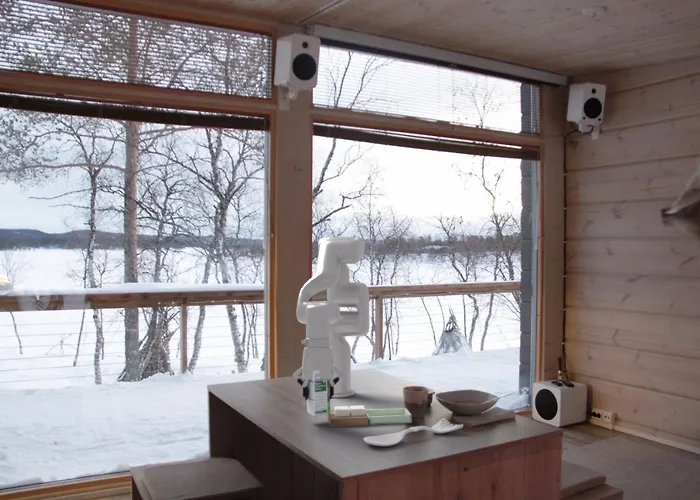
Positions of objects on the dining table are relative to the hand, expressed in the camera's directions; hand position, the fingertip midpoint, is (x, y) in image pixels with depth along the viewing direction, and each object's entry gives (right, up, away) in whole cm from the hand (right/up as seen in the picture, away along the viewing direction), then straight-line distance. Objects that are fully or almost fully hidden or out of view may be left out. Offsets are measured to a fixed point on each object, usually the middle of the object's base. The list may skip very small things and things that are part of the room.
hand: (318, 398), depth 201 cm
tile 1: (+8, -5, +1) cm, 9 cm away
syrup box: (0, -5, 0) cm, 5 cm away
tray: (+22, -8, +3) cm, 24 cm away
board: (+9, -8, +1) cm, 12 cm away
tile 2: (+12, -5, +1) cm, 14 cm away
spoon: (+28, -8, -17) cm, 34 cm away
